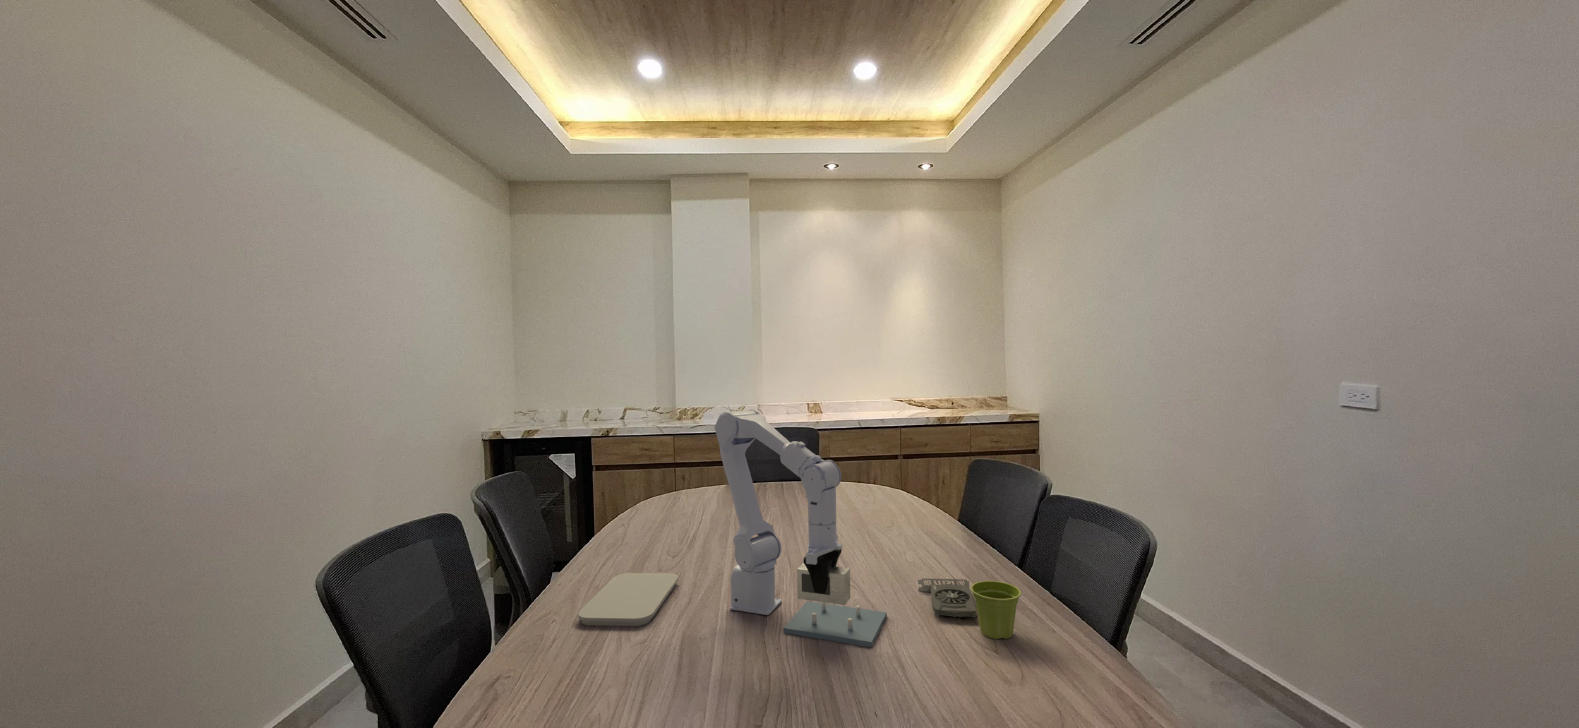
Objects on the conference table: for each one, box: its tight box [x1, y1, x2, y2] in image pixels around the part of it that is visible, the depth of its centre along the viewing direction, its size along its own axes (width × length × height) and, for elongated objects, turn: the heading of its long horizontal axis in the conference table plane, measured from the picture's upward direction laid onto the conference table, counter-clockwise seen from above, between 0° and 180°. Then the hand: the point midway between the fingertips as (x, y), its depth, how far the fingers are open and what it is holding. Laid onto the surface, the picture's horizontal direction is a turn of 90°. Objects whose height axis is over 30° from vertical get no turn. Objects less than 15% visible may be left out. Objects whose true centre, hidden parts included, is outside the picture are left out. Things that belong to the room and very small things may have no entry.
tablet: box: [577, 572, 679, 627], centre depth 134 cm, size 16×26×2 cm, turn 176°
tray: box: [783, 600, 888, 648], centre depth 120 cm, size 18×14×3 cm
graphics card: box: [917, 577, 978, 620], centre depth 129 cm, size 17×4×12 cm
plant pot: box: [970, 580, 1022, 640], centre depth 115 cm, size 9×9×9 cm
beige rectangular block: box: [796, 562, 851, 606], centre depth 118 cm, size 10×4×6 cm, turn 68°
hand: (823, 588), depth 118 cm, fingers closed on beige rectangular block, 4 cm apart
